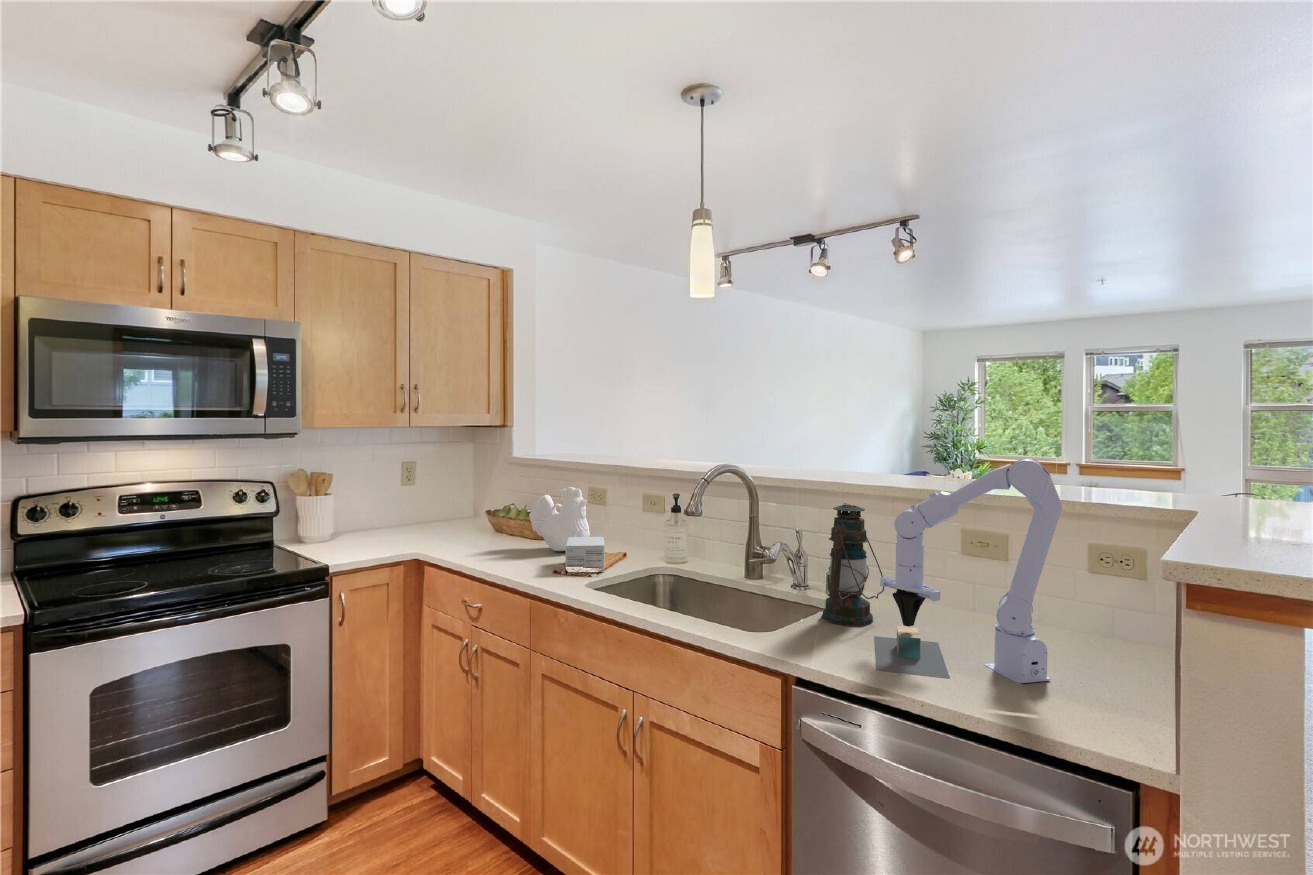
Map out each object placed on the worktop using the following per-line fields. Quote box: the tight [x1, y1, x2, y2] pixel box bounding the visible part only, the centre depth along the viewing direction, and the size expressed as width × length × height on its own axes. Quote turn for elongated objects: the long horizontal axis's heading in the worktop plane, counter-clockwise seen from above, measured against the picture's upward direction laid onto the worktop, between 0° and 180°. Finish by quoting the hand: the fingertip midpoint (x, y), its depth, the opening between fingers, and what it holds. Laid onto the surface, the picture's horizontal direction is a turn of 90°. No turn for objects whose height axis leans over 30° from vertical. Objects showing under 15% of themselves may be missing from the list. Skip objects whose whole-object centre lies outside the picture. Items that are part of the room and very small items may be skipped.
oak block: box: [896, 625, 921, 659], centre depth 147 cm, size 4×4×8 cm
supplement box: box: [564, 536, 606, 571], centre depth 229 cm, size 17×13×9 cm
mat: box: [873, 635, 951, 680], centre depth 145 cm, size 22×14×1 cm, turn 163°
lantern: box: [821, 502, 885, 627], centre depth 172 cm, size 19×14×30 cm
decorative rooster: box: [528, 486, 591, 552], centre depth 259 cm, size 25×16×25 cm, turn 56°
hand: (908, 625), depth 147 cm, fingers closed
